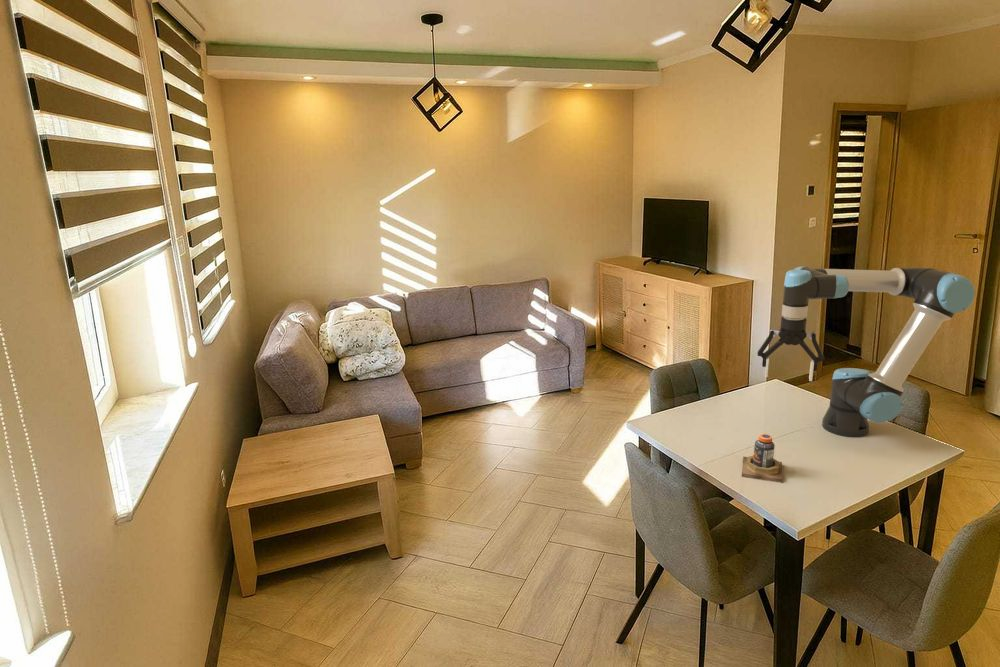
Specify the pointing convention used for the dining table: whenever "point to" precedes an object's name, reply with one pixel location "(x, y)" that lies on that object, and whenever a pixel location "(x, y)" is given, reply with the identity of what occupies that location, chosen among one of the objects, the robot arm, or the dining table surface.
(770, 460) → the pill bottle
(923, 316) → the robot arm
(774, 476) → the socket board
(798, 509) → the dining table surface
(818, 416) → the dining table surface
